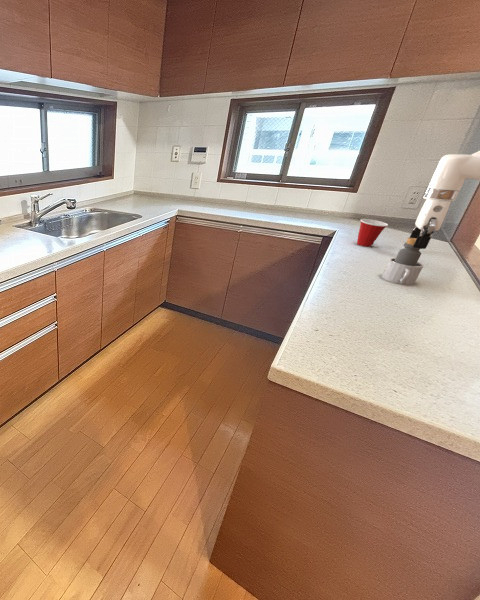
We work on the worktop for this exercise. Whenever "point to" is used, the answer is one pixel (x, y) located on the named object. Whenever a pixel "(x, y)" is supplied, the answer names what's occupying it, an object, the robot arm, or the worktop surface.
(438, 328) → the worktop surface
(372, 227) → the plastic cup
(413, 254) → the bottle
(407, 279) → the mug
